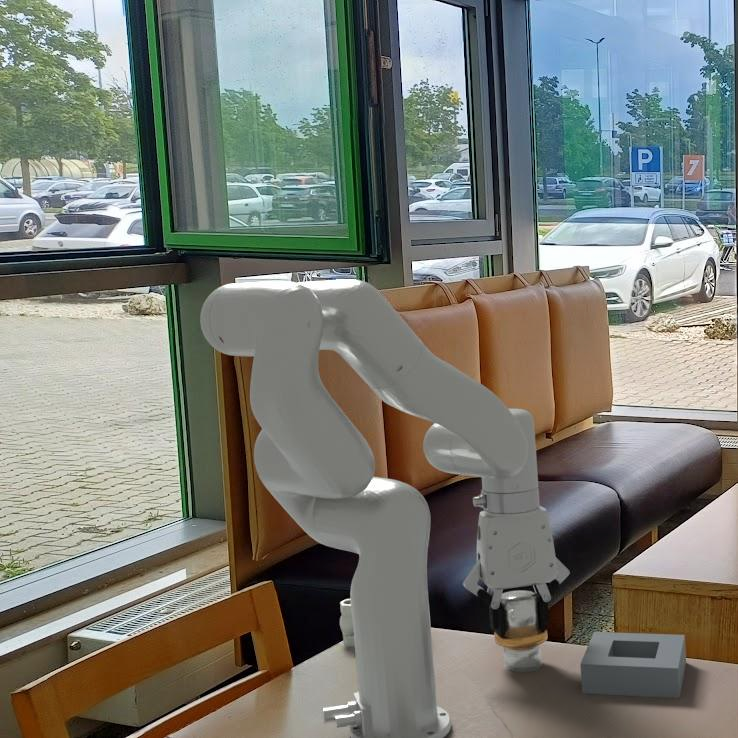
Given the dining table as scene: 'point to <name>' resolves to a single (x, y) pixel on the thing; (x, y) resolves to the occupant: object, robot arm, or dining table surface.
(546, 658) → the dining table surface
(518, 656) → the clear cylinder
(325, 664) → the dining table surface
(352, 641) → the valve
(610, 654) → the housing
